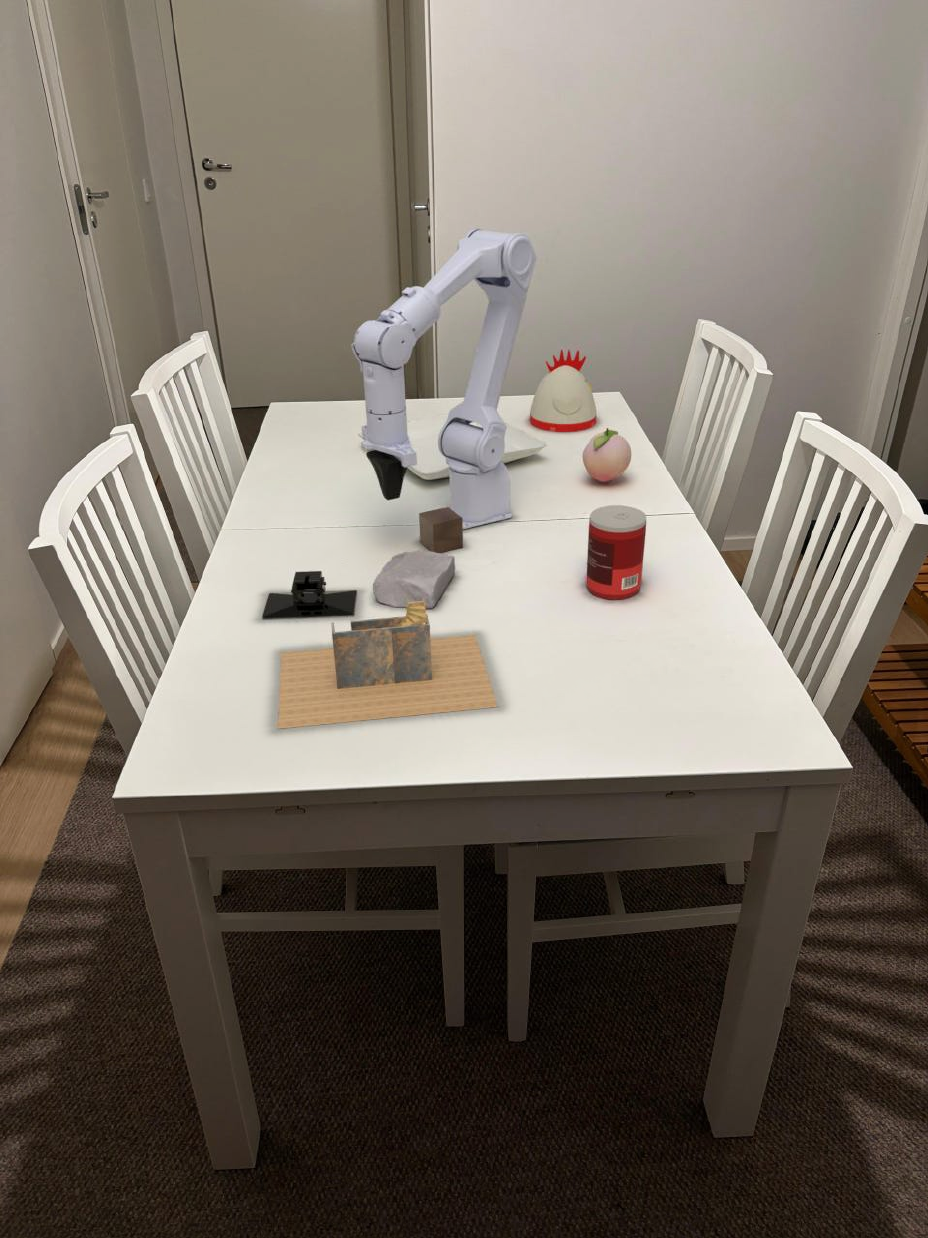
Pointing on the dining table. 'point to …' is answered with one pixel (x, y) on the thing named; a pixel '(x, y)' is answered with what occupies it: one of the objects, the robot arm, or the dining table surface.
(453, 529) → the walnut cube
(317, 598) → the build plate
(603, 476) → the decorative fruit
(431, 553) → the stone block
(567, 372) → the kitchen timer
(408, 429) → the square plate
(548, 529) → the dining table surface
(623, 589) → the canned food
